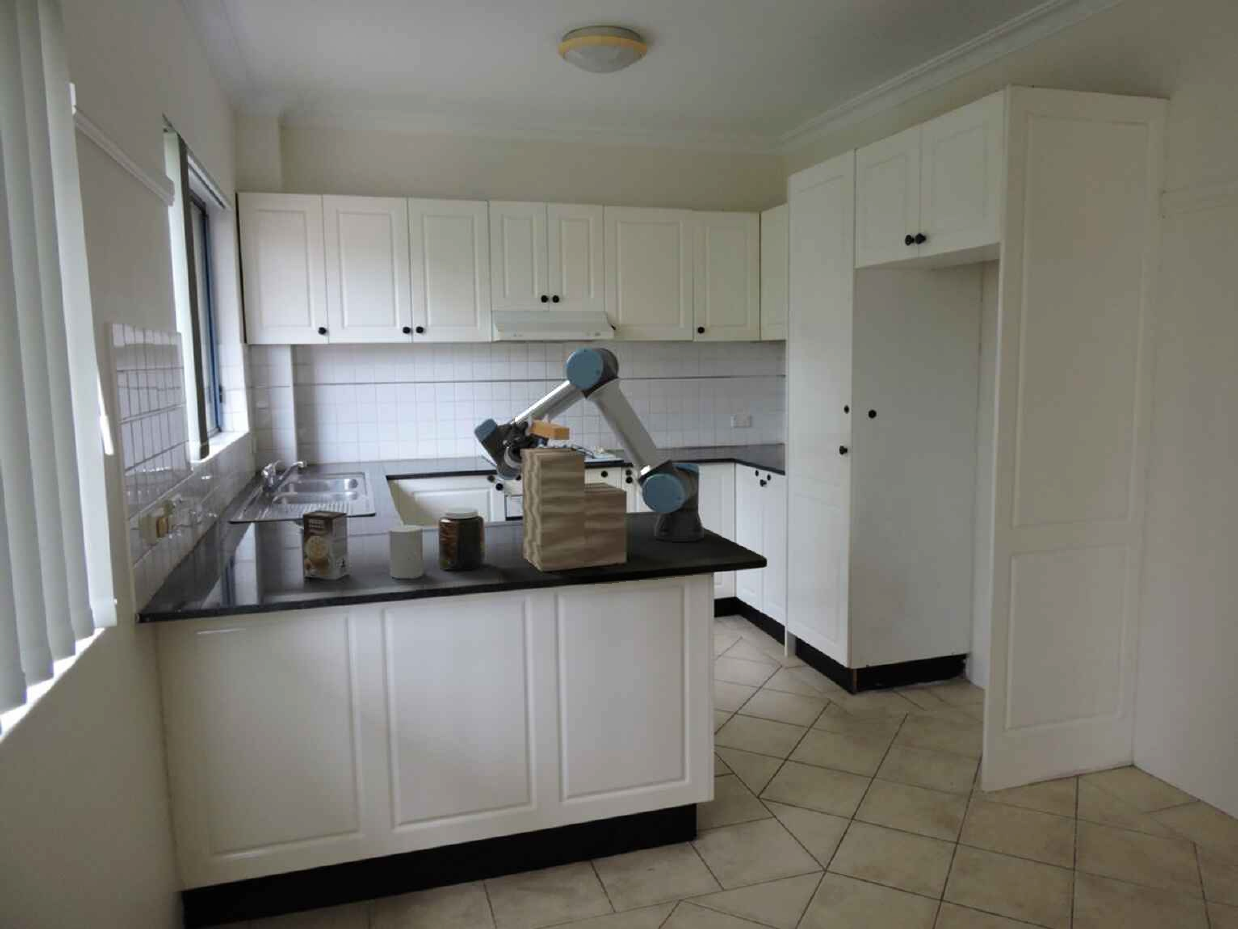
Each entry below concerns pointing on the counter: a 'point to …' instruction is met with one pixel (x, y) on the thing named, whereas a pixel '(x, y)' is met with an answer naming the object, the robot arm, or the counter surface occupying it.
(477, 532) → the jar
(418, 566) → the cup
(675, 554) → the counter surface
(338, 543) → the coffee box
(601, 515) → the wooden stepped block
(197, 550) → the counter surface
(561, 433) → the orange box
